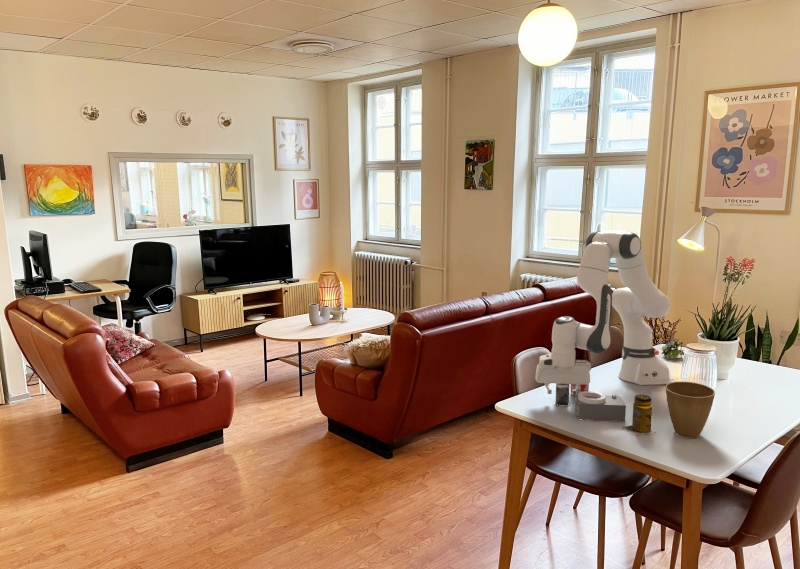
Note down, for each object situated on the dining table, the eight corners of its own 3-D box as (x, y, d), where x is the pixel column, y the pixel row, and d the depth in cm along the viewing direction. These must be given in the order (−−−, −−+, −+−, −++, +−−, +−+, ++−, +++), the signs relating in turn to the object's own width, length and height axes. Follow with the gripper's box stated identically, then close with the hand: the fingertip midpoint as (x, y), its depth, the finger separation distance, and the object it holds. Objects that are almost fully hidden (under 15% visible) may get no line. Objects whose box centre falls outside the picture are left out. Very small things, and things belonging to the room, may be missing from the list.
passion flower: (665, 366, 294) (665, 343, 299) (688, 366, 287) (689, 342, 292) (657, 357, 287) (658, 334, 291) (682, 357, 280) (682, 333, 285)
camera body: (619, 411, 224) (620, 391, 222) (625, 421, 214) (626, 401, 213) (575, 409, 226) (575, 390, 225) (578, 419, 216) (579, 399, 215)
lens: (567, 401, 235) (568, 381, 233) (569, 406, 230) (570, 386, 228) (554, 400, 235) (555, 381, 234) (556, 405, 230) (556, 385, 229)
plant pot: (657, 424, 211) (659, 381, 208) (701, 425, 209) (704, 381, 206) (671, 442, 196) (674, 396, 193) (719, 444, 194) (723, 397, 192)
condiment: (656, 432, 204) (658, 399, 202) (634, 435, 202) (635, 401, 200) (643, 424, 211) (644, 392, 209) (621, 427, 209) (623, 394, 207)
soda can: (586, 391, 245) (587, 363, 243) (590, 397, 238) (591, 368, 236) (568, 391, 246) (569, 362, 244) (571, 397, 239) (572, 368, 237)
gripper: (589, 357, 231) (588, 392, 233) (535, 356, 234) (534, 390, 236) (592, 362, 225) (591, 398, 227) (536, 360, 228) (535, 395, 230)
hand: (561, 394), depth 232 cm, fingers open, 8 cm apart
